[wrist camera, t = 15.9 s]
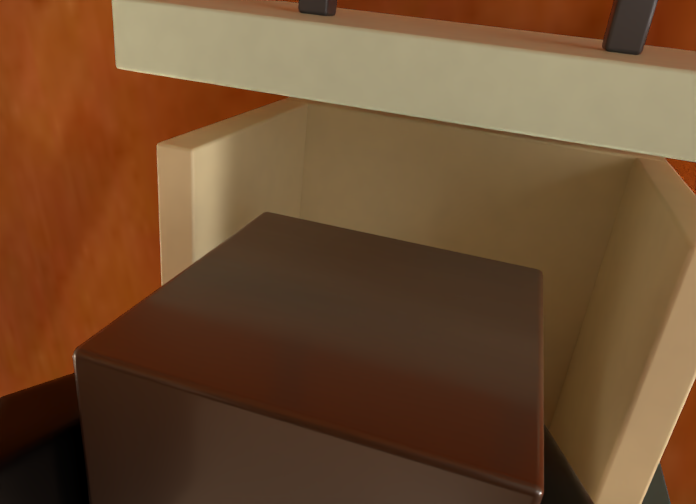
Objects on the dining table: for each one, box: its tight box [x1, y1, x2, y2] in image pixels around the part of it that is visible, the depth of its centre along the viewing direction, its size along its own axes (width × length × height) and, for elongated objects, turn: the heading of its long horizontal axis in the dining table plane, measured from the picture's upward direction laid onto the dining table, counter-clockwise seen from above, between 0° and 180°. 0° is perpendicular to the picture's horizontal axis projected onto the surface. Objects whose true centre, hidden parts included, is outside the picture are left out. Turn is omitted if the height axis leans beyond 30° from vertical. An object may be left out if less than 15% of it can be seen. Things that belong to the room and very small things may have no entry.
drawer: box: [112, 0, 696, 504], centre depth 13 cm, size 18×11×7 cm, turn 174°
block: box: [73, 212, 544, 504], centre depth 8 cm, size 4×4×4 cm
